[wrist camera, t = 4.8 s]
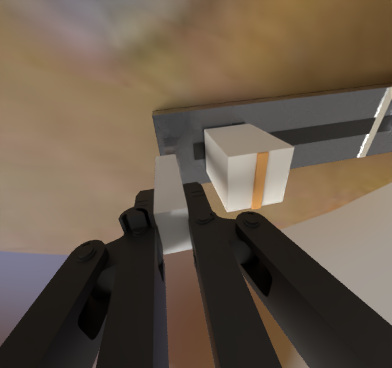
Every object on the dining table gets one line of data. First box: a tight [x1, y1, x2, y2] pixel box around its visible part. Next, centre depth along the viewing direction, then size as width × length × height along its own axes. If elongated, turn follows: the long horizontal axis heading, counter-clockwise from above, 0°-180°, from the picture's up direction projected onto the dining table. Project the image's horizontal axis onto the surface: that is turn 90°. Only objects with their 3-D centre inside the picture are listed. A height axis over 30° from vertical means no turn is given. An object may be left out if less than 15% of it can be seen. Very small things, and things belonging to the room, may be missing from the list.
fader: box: [204, 123, 294, 212], centre depth 14 cm, size 4×4×6 cm
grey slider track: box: [152, 83, 392, 184], centre depth 17 cm, size 7×28×4 cm, turn 95°
